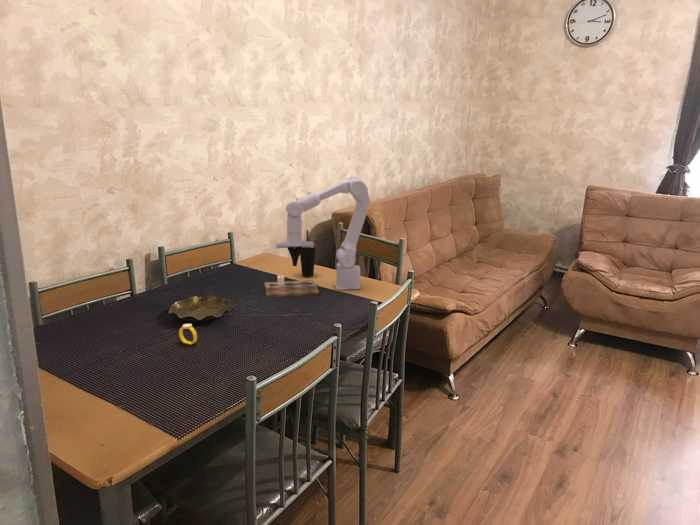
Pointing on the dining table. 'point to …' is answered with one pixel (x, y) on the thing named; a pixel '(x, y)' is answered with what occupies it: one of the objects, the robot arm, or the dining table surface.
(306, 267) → the drinking cup
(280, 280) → the fader tab
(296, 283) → the console
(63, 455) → the dining table surface
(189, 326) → the gold ring
